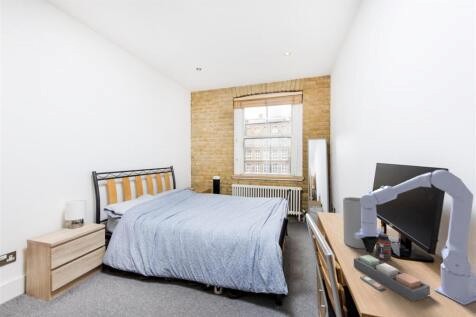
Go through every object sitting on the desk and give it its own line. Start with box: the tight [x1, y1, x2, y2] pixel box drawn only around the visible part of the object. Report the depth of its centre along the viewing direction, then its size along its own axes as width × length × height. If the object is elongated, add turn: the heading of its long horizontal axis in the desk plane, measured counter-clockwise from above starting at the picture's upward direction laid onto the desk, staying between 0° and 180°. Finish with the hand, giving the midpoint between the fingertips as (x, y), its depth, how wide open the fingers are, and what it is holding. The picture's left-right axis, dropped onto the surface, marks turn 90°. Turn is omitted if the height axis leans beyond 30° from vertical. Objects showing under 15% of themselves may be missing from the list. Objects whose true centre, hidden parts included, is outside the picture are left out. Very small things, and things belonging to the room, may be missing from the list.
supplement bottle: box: [375, 233, 392, 261], centre depth 97 cm, size 6×6×11 cm
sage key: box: [359, 254, 380, 267], centre depth 88 cm, size 5×5×3 cm
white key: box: [376, 262, 399, 277], centre depth 81 cm, size 5×5×3 cm
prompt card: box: [359, 275, 386, 291], centre depth 78 cm, size 3×8×1 cm, turn 18°
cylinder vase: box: [342, 196, 365, 249], centre depth 113 cm, size 12×12×25 cm
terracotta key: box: [396, 272, 421, 290], centre depth 74 cm, size 5×5×3 cm
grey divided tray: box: [353, 256, 431, 302], centre depth 81 cm, size 9×24×4 cm, turn 18°
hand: (369, 252), depth 88 cm, fingers closed
